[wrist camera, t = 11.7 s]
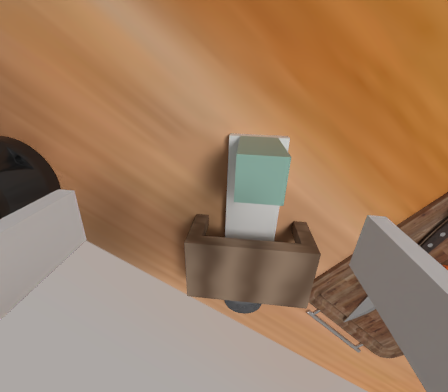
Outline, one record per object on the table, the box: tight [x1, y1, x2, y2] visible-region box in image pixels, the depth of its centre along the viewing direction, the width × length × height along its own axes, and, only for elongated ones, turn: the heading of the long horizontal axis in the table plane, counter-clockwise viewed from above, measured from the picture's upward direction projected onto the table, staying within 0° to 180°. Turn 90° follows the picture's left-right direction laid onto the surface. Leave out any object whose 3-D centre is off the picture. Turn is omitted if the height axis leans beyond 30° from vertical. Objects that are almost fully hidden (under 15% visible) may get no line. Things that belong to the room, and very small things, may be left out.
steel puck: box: [225, 300, 261, 313], centre depth 43 cm, size 7×7×2 cm
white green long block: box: [225, 133, 291, 241], centre depth 31 cm, size 8×26×12 cm, turn 178°
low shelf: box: [184, 214, 321, 308], centre depth 35 cm, size 18×10×8 cm, turn 89°
